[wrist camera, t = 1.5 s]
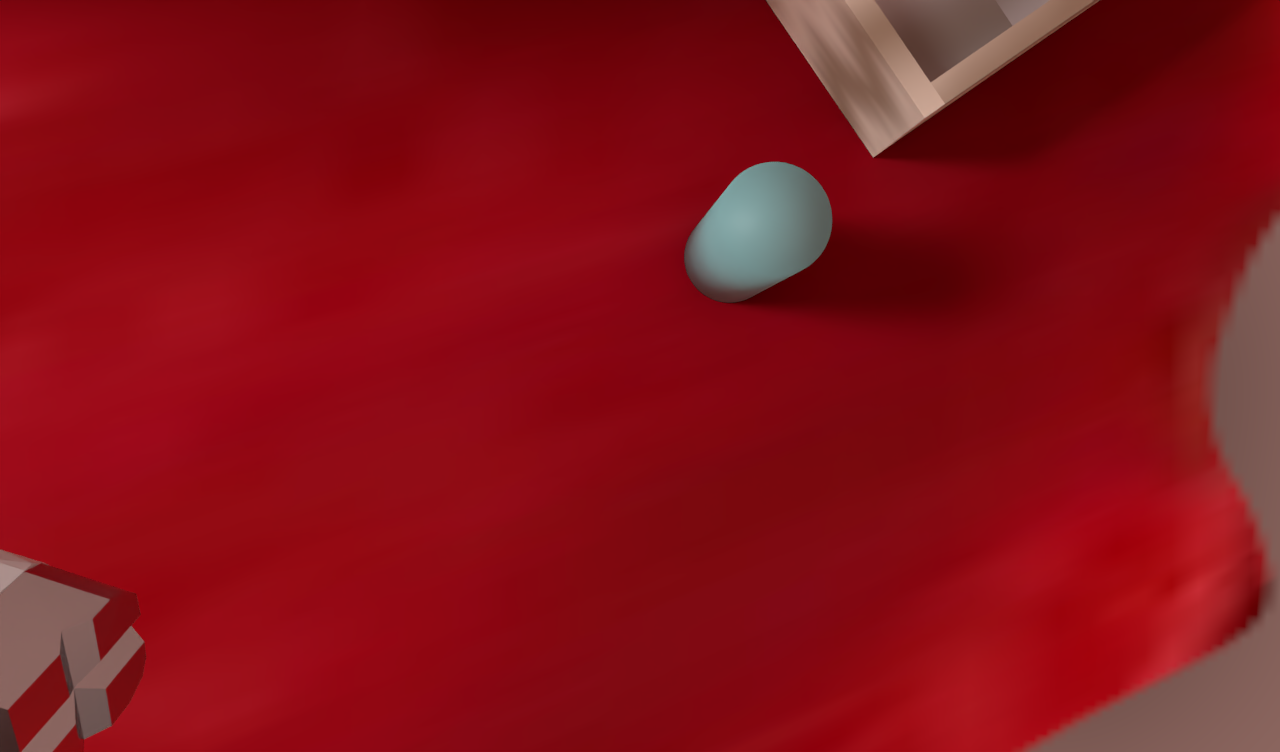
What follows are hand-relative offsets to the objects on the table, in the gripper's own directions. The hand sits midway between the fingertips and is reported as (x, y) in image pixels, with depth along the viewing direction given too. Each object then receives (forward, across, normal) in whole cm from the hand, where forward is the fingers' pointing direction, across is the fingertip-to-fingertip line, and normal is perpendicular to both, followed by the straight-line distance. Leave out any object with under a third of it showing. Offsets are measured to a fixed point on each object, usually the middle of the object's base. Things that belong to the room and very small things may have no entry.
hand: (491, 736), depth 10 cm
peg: (+32, -1, +9) cm, 34 cm away
